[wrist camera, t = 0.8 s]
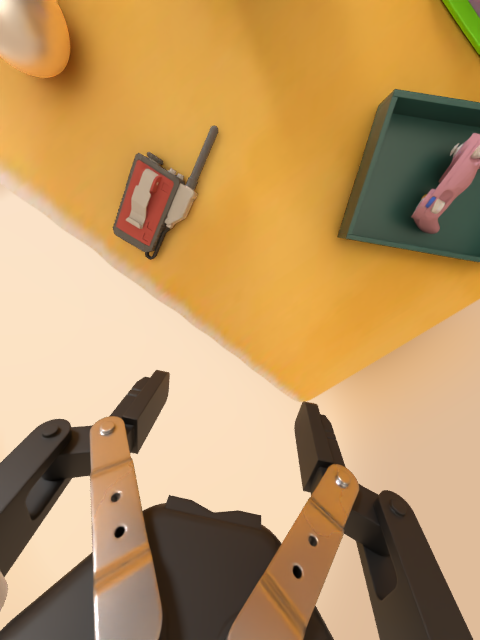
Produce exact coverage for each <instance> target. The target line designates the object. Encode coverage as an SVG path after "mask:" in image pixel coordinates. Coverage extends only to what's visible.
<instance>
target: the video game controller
mask: <svg viewBox="0 0 480 640" xmlns="http://www.w3.org/2000/svg"><path fill="white" fill-rule="evenodd" d="M458 145H459V143H458V144H457V145H456V146H454V148H453V149H452V150H451V152H450V156H451V155H452V154H453V153H454V154H453V159H452V162H451V164H450V166H449V167H448V168H447V170H446V171H445V173H444V174H443V175H442V177H441V178H440V180H439V181H438V182H439V183H440V184H439V186H438V187H437V188H436V190H435V189H431V190H430V192H429V193H428V194H425V195H423V197H422V198H421V201H420V203H419V204H418V205H417V207H416V210H415V211H414V213H413V215H412V216H411V218H413V219H414V221H415V223H416V225H417V227H418V228H419V229H420V230H421V231H423V232H425V233H429V234H435V233H437V232H438V231H439V229H440V226H439V223H438V218H439V216H440V215H441V214H442V213H443V212H444V211H445V210H446V209H447V208H448V206H449V205H450V204H451V203H452V202H453V200H454V199H455V198H456V197H457V196H458V195H460V194H461V193H462V192H463V191H464V190H465V189H467V188H468V186H469V185H470V184H471V183H472V181H473V179H474V177H475V175H476V172H477V170H478V169H480V134H477V133H473V134H472V136H471V137H470V138H469V139H468V140H467V141H466V142H464V144H462V145H460V146H459V147H458Z"/></svg>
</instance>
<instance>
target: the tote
mask: <svg viewBox="0 0 480 640" xmlns="http://www.w3.org/2000/svg"><path fill="white" fill-rule="evenodd" d="M473 133H477V134H480V103H479V102H473V101H467V100H460V99H454V98H448V97H441V96H435V95H429V94H423V93H416V92H410V91H404V90H397V89H394V91H393V92H392V93H391V94H390V95H389V96H388V97H387V98H386V99H385V100H384V101H383V102H382V103H381V104H380V105H379V106H378V109H377V112H376V115H375V119H374V122H373V125H372V128H371V131H370V135H369V138H368V141H367V144H366V147H365V150H364V154H363V157H362V160H361V163H360V166H359V170H358V173H357V176H356V179H355V182H354V186H353V189H352V192H351V195H350V198H349V202H348V205H347V208H346V211H345V214H344V218H343V221H342V224H341V227H340V230H339V234H338V237H339V238H345V239H350V240H356V241H361V242H367V243H373V244H378V245H384V246H390V247H395V248H401V249H407V250H412V251H418V252H423V253H429V254H435V255H440V256H446V257H452V258H457V259H463V260H469V261H474V262H480V169H478V170H477V172H476V175H475V177H474V179H473V181H472V183H471V184H470V185H469V186H468V188H467V189H465V190H464V191H463V192H462V193H461V194H460V195H458V196H457V197H456V198H455V199H454V200H453V202H452V203H451V204H450V205H449V206H448V208H447V209H446V210H445V211H444V212H443V213H442V214H441V215H440V216H439V218H438V223H439V226H440V229H439V231H438V232H437V233H435V234H429V233H425V232H423V231H421V230H420V229H419V228H418V227H417V225H416V223H415V221H414V219H413V218H411V216H412V215H413V213H414V211H415V210H416V207H417V205H418V204H419V203H420V201H421V198H422V197H423V195H425V194H428V193H429V192H430V190H431V189H435V190H436V188H437V187H438V186H439V184H440V183H439V182H438V181H439V180H440V178H441V177H442V175H443V174H444V173H445V171H446V170H447V168H448V167H449V166H450V164H451V162H452V159H453V154H454V153H453V154H452V155H451V156H450V152H451V150H452V149H453V148H454V146H456V145H457V144H458V143H459V145H458V147H459V146H460V145H462V144H464V142H466V141H467V140H468V139H469V138H470V137H471V136H472V134H473Z"/></svg>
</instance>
